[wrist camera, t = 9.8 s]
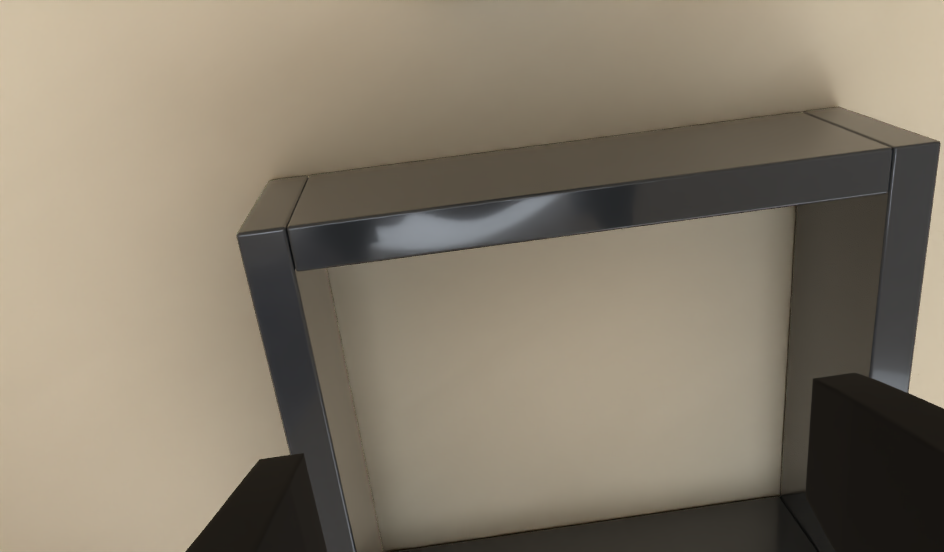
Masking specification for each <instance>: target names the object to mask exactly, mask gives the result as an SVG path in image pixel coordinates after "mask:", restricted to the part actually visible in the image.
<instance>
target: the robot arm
mask: <svg viewBox="0 0 944 552" xmlns="http://www.w3.org/2000/svg"><path fill="white" fill-rule="evenodd" d="M805 497H806V499H807V500H808V502H809V504H810V506H811V508H812V510H813V512H814V514H815V516H816V518H817V520H818V521H819V523H820V525H821V527H822V529H823V531H824V533H825V534H826V536H827V538H828V540H829V541H830V543H831V545H832V547H833V549H834V550H835V552H944V409H943V408H941V407H938V406H936V405H934V404H932V403H929V402H927V401H925V400H923V399H920V398H918V397H916V396H913V395H911V394H909V393H906V392H904V391H902V390H899V389H897V388H895V387H892V386H890V385H887V384H885V383H883V382H880V381H878V380H875V379H872V378H870V377H867V376H864V375H861V374H858V373H848V374H841V375H834V376H827V377H820V378H814V379H813V383H812V398H811V414H810V429H809V445H808V460H807V476H806V491H805ZM186 552H327V548H326V544H325V540H324V536H323V532H322V527H321V523H320V519H319V515H318V511H317V507H316V503H315V499H314V494H313V490H312V486H311V482H310V478H309V474H308V470H307V465H306V461H305V457H304V453H301V454H294V455H287V456H280V457H274V458H267V459H260V460H259V461H258V462H257V463H256V465H255V466H254V467H253V468H252V469H251V471H250V472H249V473H248V474H247V476H246V477H245V478H244V479H243V481H242V482H241V483H240V484H239V486H238V487H237V488H236V489H235V491H234V492H233V493H232V494H231V496H230V497H229V498H228V500H227V501H226V502H225V503H224V505H223V506H222V507H221V508H220V510H219V511H218V512H217V513H216V515H215V516H214V517H213V519H212V520H211V521H210V522H209V524H208V525H207V526H206V527H205V529H204V530H203V531H202V532H201V533H200V535H199V536H198V537H197V538H196V540H195V541H194V542H193V543H192V544H191V546H190V547H189V548H188V549H187V550H186Z"/></svg>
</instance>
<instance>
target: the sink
mask: <svg viewBox="0 0 944 552" xmlns="http://www.w3.org/2000/svg"><path fill="white" fill-rule="evenodd" d="M939 152H940V141H937V140H934V139H931V138H928V137H925V136H923V135H920V134H917V133H914V132H911V131H908V130H905V129H902V128H899V127H897V126H894V125H891V124H888V123H885V122H882V121H879V120H876V119H873V118H871V117H868V116H865V115H862V114H859V113H856V112H853V111H850V110H847V109H845V108H842V107H832V108H824V109H817V110H809V111H804V112H794V113H786V114H779V115H771V116H763V117H755V118H748V119H740V120H732V121H724V122H717V123H709V124H701V125H693V126H686V127H678V128H670V129H662V130H655V131H647V132H639V133H631V134H624V135H616V136H608V137H600V138H593V139H585V140H577V141H569V142H562V143H554V144H546V145H538V146H531V147H523V148H515V149H507V150H500V151H492V152H484V153H476V154H469V155H461V156H453V157H445V158H438V159H430V160H422V161H414V162H407V163H399V164H391V165H383V166H376V167H368V168H360V169H352V170H345V171H337V172H329V173H321V174H314V175H310V176H309V178H308V176H298V177H291V178H283V179H275V180H270V181H268V183H267V185H266V186H265V188H264V190H263V191H262V193H261V195H260V196H259V198H258V199H257V201H256V203H255V204H254V206H253V208H252V209H251V211H250V213H249V214H248V216H247V218H246V219H245V221H244V222H243V224H242V226H241V227H240V229H239V231H238V232H237V235H236V236H237V241H238V245H239V249H240V253H241V257H242V261H243V265H244V269H245V273H246V277H247V281H248V285H249V289H250V293H251V297H252V302H253V306H254V310H255V314H256V318H257V322H258V326H259V330H260V334H261V338H262V342H263V346H264V350H265V354H266V358H267V363H268V367H269V371H270V375H271V379H272V383H273V387H274V391H275V395H276V399H277V403H278V407H279V411H280V415H281V419H282V424H283V428H284V432H285V436H286V440H287V444H288V448H289V452H290V455H294V454H301V453H304V457H305V461H306V465H307V470H308V474H309V478H310V482H311V486H312V490H313V494H314V499H315V503H316V507H317V511H318V515H319V519H320V523H321V527H322V532H323V536H324V540H325V544H326V548H327V552H384V551H383V546H382V541H381V536H380V531H379V526H378V521H377V516H376V511H375V506H374V501H373V496H372V491H371V486H370V481H369V476H368V471H367V466H366V461H365V456H364V451H363V446H362V441H361V436H360V431H359V426H358V421H357V416H356V411H355V406H354V401H353V396H352V391H351V386H350V381H349V376H348V371H347V366H346V361H345V356H344V351H343V346H342V341H341V336H340V331H339V326H338V321H337V316H336V311H335V306H334V302H333V297H332V292H331V287H330V282H329V277H328V272H327V268H329V267H337V266H344V265H352V264H360V263H367V262H375V261H382V260H390V259H397V258H405V257H412V256H420V255H427V254H435V253H442V252H450V251H457V250H465V249H472V248H480V247H487V246H495V245H503V244H510V243H518V242H525V241H533V240H540V239H548V238H555V237H563V236H570V235H578V234H585V233H593V232H600V231H608V230H615V229H623V228H630V227H638V226H645V225H653V224H661V223H668V222H676V221H683V220H691V219H698V218H706V217H713V216H721V215H728V214H736V213H743V212H751V211H758V210H766V209H773V208H781V207H788V206H796V205H797V211H796V228H795V246H794V263H793V281H792V298H791V316H790V333H789V351H788V368H787V386H786V403H785V421H784V438H783V456H782V473H781V491H780V497H779V496H774V497H767V498H760V499H753V500H746V501H740V502H733V503H726V504H719V505H712V506H705V507H698V508H691V509H684V510H677V511H670V512H664V513H657V514H650V515H643V516H636V517H629V518H622V519H615V520H608V521H601V522H594V523H588V524H581V525H574V526H567V527H560V528H553V529H546V530H539V531H532V532H525V533H518V534H512V535H505V536H498V537H491V538H484V539H477V540H470V541H463V542H456V543H449V544H442V545H436V546H429V547H422V548H415V549H408V550H401V551H394V552H835V550H834V549H833V547H832V545H831V543H830V541H829V540H828V538H827V536H826V534H825V533H824V531H823V529H822V527H821V525H820V523H819V521H818V520H817V518H816V516H815V514H814V512H813V510H812V508H811V506H810V504H809V502H808V500H807V499H806V497H805V491H806V476H807V460H808V445H809V429H810V414H811V398H812V383H813V379H814V378H820V377H827V376H834V375H841V374H848V373H858V374H861V375H864V376H867V377H870V378H872V379H875V380H878V381H880V382H883V383H885V384H887V385H890V386H892V387H895V388H897V389H899V390H902V391H904V392H906V393H908V391H909V383H910V375H911V368H912V360H913V352H914V345H915V337H916V329H917V321H918V314H919V306H920V298H921V291H922V283H923V275H924V267H925V260H926V252H927V244H928V237H929V229H930V221H931V213H932V206H933V198H934V190H935V183H936V175H937V167H938V159H939Z"/></svg>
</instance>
